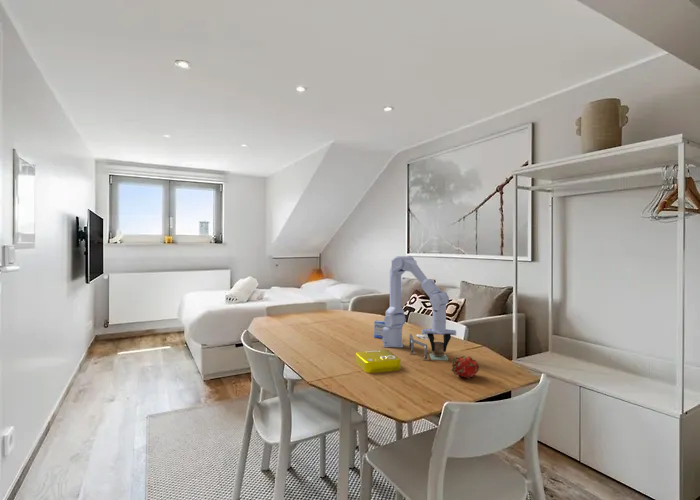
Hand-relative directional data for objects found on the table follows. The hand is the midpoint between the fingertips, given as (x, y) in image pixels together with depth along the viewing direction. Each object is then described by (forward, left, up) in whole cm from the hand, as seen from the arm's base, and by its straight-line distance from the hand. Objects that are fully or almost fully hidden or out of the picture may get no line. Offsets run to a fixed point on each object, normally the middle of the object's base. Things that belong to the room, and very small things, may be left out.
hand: (438, 351), depth 162 cm
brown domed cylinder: (0, 0, -1) cm, 1 cm away
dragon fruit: (+6, -23, -3) cm, 24 cm away
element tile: (-27, -14, -3) cm, 30 cm away
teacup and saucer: (-3, +37, -3) cm, 38 cm away
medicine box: (-25, +32, -3) cm, 40 cm away
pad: (0, 0, -3) cm, 3 cm away
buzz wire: (-9, +5, -3) cm, 10 cm away
